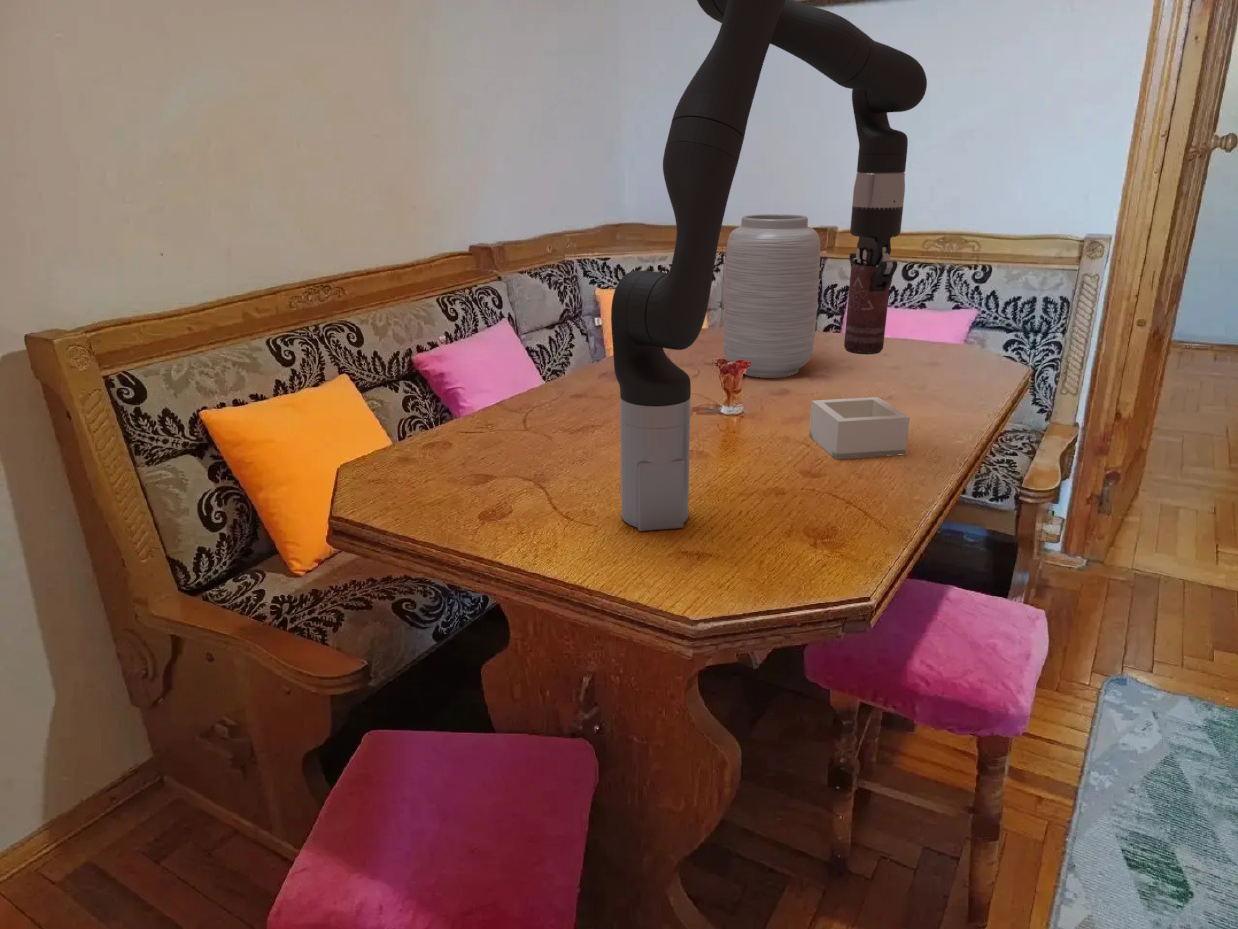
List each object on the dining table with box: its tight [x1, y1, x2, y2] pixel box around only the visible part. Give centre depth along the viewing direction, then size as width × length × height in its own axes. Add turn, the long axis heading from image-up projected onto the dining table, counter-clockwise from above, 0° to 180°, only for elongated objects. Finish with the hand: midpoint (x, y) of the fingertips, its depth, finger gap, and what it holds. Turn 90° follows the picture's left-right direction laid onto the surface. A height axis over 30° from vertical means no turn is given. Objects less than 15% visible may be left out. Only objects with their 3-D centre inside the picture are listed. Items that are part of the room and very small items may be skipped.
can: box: [843, 262, 894, 355], centre depth 135 cm, size 6×6×14 cm
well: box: [808, 396, 911, 461], centre depth 142 cm, size 12×12×6 cm
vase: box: [722, 213, 821, 379], centre depth 186 cm, size 20×20×34 cm
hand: (867, 316), depth 135 cm, fingers closed
